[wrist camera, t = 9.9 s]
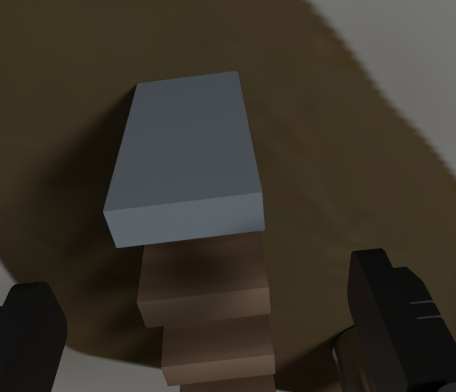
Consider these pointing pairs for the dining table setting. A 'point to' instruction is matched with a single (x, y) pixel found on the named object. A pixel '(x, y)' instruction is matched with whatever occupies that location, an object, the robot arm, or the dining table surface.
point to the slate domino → (185, 164)
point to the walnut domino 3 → (234, 385)
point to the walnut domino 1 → (203, 280)
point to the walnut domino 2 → (217, 350)
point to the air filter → (352, 363)
